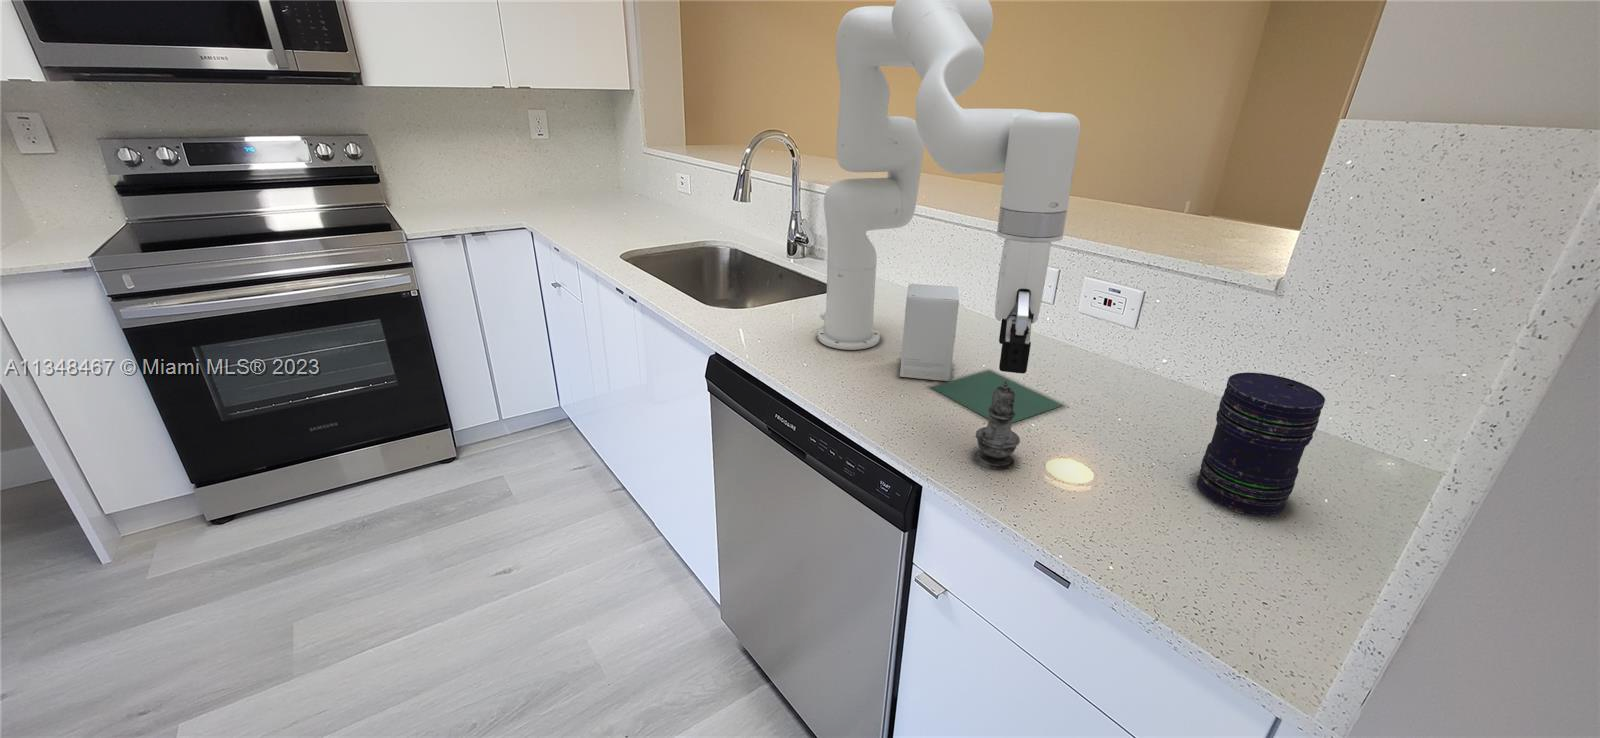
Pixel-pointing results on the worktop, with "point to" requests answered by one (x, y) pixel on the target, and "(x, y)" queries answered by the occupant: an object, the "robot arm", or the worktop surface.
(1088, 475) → the worktop surface
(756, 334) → the worktop surface
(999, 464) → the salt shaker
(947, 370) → the white product box
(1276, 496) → the storage jar
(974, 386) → the mat
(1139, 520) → the worktop surface
